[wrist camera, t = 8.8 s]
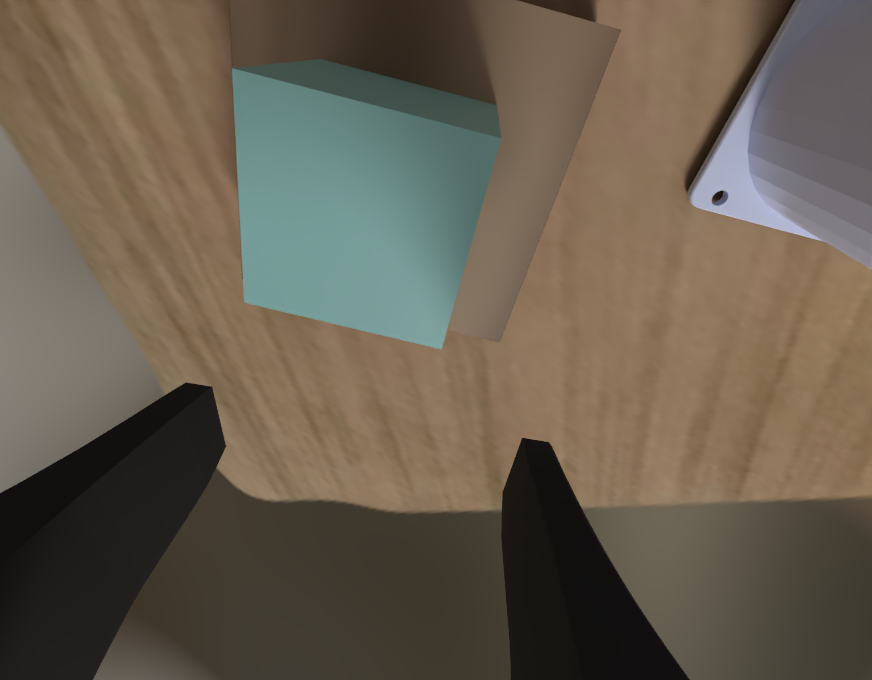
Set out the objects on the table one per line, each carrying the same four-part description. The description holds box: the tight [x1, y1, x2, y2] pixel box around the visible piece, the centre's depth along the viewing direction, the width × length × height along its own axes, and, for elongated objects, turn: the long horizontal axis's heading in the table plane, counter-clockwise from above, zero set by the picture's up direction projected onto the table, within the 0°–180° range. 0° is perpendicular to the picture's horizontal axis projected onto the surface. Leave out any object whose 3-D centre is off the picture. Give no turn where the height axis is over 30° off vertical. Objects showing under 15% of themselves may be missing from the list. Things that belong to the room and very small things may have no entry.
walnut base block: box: [229, 0, 621, 342], centre depth 15 cm, size 10×10×3 cm
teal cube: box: [232, 59, 501, 349], centre depth 11 cm, size 5×5×5 cm
